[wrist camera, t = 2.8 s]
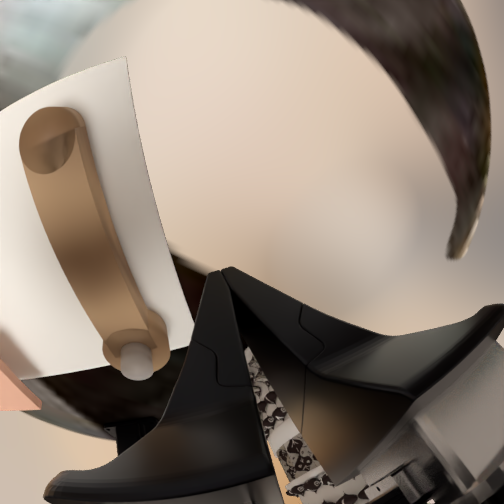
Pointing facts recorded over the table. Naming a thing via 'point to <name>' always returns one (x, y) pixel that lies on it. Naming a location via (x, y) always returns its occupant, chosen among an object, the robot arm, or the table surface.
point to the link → (89, 240)
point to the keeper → (15, 392)
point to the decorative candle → (298, 450)
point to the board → (41, 252)
